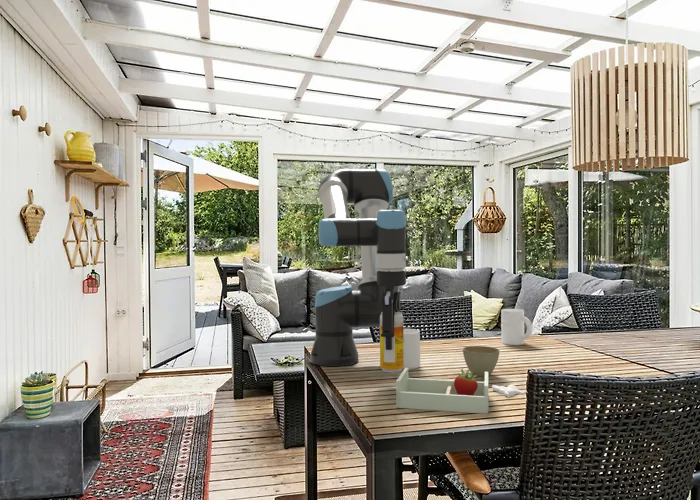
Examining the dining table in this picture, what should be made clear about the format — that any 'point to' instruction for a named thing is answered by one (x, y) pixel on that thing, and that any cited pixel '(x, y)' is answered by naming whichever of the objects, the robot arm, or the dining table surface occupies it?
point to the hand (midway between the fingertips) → (391, 358)
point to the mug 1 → (411, 348)
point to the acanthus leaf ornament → (507, 390)
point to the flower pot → (481, 359)
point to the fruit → (465, 383)
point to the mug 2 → (514, 326)
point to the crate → (439, 395)
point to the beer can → (398, 345)
